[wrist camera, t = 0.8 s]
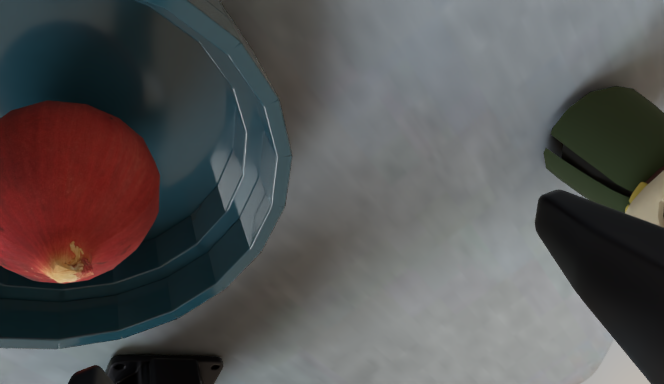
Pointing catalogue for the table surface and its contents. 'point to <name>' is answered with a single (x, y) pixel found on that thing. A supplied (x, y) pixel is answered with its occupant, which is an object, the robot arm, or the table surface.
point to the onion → (72, 191)
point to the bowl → (165, 147)
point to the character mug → (613, 152)
